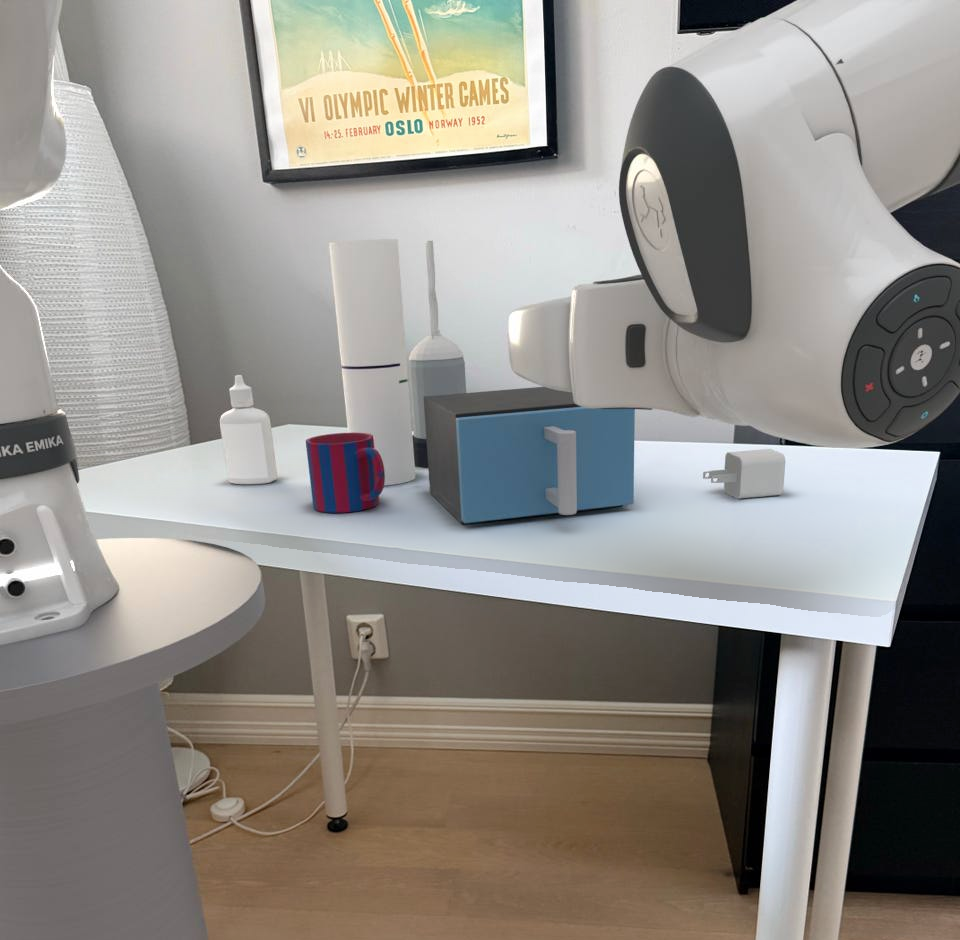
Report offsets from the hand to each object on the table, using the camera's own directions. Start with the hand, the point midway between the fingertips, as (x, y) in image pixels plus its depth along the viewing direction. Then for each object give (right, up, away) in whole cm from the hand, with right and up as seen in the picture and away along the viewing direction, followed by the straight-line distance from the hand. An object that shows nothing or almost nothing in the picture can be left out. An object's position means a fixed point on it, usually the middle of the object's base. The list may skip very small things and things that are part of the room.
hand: (625, 326), depth 64 cm
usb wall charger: (+15, -8, +27) cm, 32 cm away
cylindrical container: (-21, -3, +42) cm, 47 cm away
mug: (-23, -8, +30) cm, 38 cm away
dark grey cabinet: (-6, -7, +30) cm, 31 cm away
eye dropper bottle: (-36, -3, +44) cm, 58 cm away
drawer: (-5, -8, +25) cm, 27 cm away
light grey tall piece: (-15, 0, +51) cm, 53 cm away
